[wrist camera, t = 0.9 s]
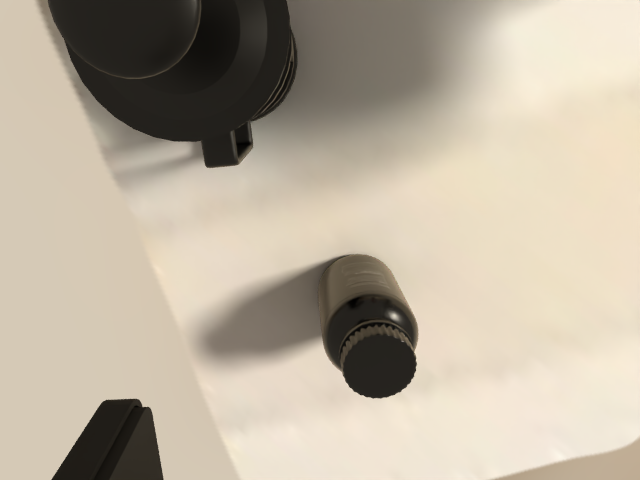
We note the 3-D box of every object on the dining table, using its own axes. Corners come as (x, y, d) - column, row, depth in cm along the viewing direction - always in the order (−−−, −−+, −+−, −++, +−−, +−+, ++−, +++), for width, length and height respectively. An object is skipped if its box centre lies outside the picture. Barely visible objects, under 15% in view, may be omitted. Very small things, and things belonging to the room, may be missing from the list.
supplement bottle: (302, 300, 41) (303, 381, 29) (346, 237, 39) (365, 297, 28) (366, 337, 42) (391, 428, 31) (411, 278, 40) (455, 350, 29)
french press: (156, -18, 33) (-134, -241, 11) (289, -30, 33) (268, -275, 11) (185, 150, 36) (13, 238, 14) (305, 139, 36) (315, 208, 15)
